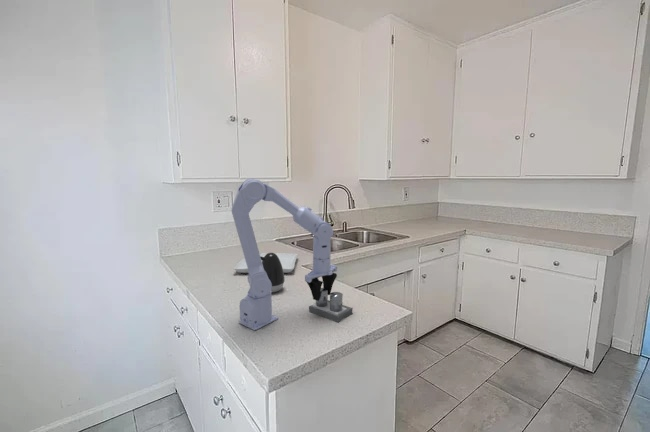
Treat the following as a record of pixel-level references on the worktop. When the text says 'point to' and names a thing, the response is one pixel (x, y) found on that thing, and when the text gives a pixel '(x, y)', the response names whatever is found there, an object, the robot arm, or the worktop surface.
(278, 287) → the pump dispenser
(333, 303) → the cylinder
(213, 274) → the worktop surface
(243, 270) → the square plate
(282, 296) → the worktop surface
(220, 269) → the worktop surface
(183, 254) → the worktop surface
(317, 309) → the scale
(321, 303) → the cylinder
